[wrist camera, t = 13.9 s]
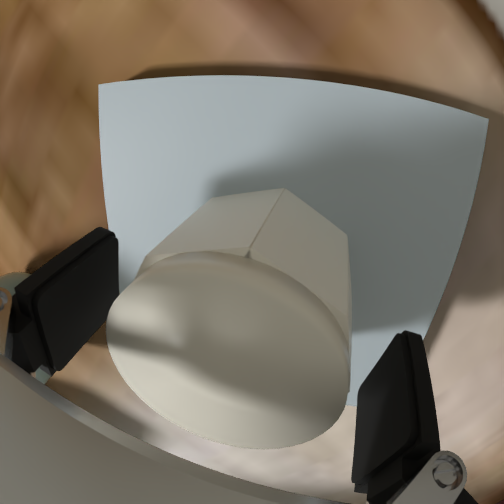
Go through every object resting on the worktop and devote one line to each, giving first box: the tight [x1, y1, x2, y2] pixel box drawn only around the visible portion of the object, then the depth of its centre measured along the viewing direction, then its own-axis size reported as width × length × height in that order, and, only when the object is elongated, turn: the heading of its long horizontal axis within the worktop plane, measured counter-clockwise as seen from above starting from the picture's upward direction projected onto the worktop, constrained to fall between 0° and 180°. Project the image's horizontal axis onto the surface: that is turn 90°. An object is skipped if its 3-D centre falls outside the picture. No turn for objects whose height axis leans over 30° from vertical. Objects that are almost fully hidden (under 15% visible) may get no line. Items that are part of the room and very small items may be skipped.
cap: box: [106, 188, 352, 449], centre depth 10 cm, size 6×6×6 cm
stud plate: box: [99, 75, 489, 406], centre depth 11 cm, size 14×14×6 cm
